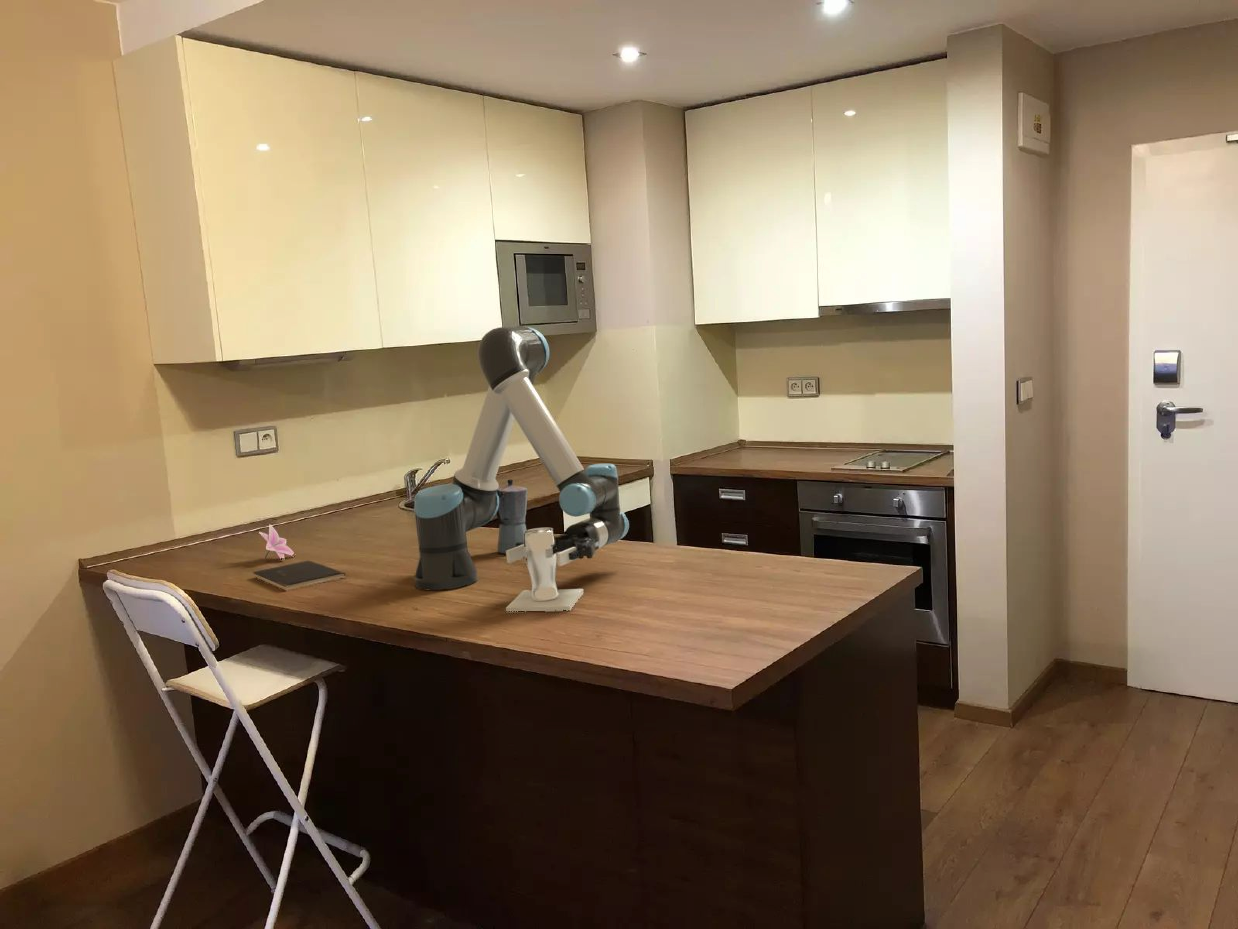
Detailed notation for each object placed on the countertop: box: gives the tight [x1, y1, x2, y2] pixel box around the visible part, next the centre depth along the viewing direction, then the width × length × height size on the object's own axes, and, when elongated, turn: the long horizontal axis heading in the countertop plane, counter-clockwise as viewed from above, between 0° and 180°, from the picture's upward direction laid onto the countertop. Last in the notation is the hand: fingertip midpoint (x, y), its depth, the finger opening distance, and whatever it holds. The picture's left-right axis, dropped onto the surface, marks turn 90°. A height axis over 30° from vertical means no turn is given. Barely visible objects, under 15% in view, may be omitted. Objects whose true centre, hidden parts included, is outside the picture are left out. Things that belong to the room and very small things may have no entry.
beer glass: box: [523, 527, 559, 601], centre depth 214 cm, size 7×7×15 cm
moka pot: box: [496, 479, 528, 555], centre depth 269 cm, size 10×15×20 cm, turn 161°
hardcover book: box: [252, 560, 347, 589], centre depth 257 cm, size 16×23×2 cm
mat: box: [505, 588, 585, 613], centre depth 215 cm, size 14×14×1 cm
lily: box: [258, 524, 295, 559], centre depth 283 cm, size 12×12×10 cm
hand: (532, 558), depth 211 cm, fingers open, 13 cm apart
